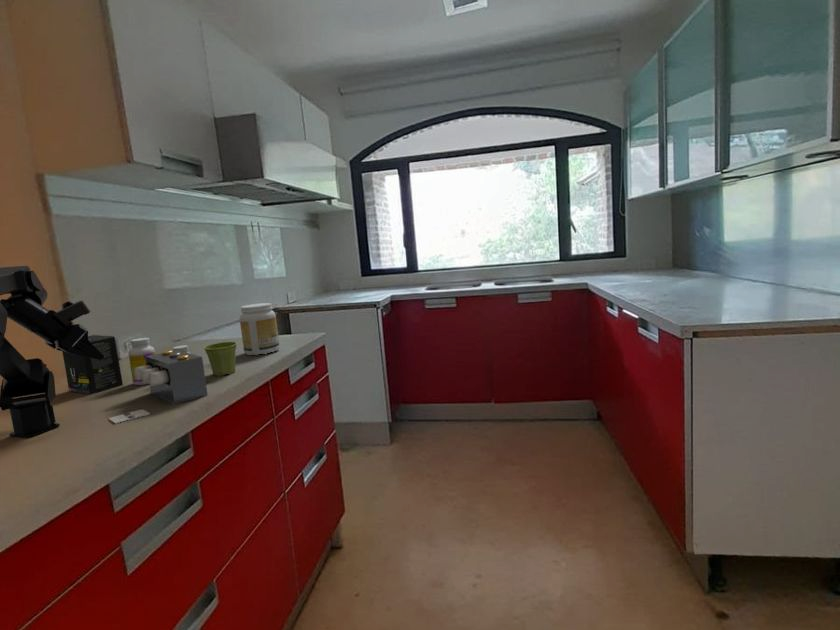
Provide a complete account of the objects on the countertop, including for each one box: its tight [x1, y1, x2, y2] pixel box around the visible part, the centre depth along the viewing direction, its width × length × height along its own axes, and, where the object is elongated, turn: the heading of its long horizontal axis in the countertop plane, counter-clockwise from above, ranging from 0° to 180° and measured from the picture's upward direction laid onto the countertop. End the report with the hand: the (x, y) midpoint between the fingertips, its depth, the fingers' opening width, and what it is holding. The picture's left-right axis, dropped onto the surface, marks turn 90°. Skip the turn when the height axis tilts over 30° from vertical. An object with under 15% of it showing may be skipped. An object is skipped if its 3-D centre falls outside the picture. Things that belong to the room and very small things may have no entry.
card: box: [108, 409, 151, 425], centre depth 111 cm, size 7×5×1 cm
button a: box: [148, 370, 169, 386], centre depth 118 cm, size 4×3×3 cm
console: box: [145, 350, 208, 405], centre depth 126 cm, size 8×17×11 cm, turn 46°
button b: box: [141, 367, 160, 383], centre depth 122 cm, size 4×3×3 cm
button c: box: [134, 365, 152, 380], centre depth 126 cm, size 4×3×3 cm
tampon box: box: [61, 334, 124, 395], centre depth 138 cm, size 11×9×15 cm
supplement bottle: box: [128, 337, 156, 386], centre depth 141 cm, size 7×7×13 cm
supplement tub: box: [239, 302, 281, 356], centre depth 172 cm, size 12×12×17 cm
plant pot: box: [202, 341, 238, 377], centre depth 145 cm, size 9×9×9 cm
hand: (98, 357), depth 118 cm, fingers open, 9 cm apart
